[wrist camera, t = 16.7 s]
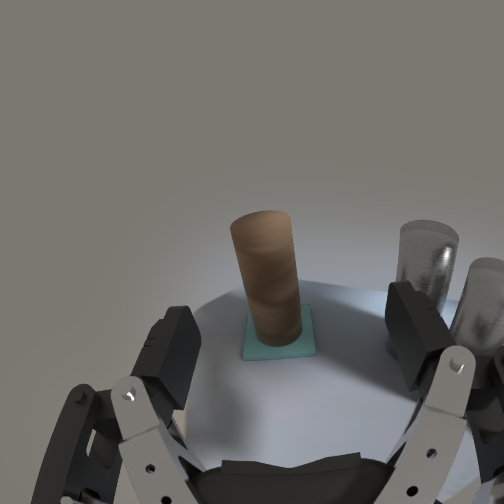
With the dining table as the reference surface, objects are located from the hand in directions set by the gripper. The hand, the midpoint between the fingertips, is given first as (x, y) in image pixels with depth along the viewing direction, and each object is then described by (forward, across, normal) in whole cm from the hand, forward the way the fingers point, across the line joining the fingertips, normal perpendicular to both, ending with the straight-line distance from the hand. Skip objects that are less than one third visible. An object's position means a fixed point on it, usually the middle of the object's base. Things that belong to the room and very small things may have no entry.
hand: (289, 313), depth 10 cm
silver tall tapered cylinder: (+8, -11, +14) cm, 20 cm away
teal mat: (+12, +2, +14) cm, 18 cm away
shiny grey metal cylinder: (+2, -13, +14) cm, 19 cm away
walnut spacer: (+12, +2, +13) cm, 18 cm away
